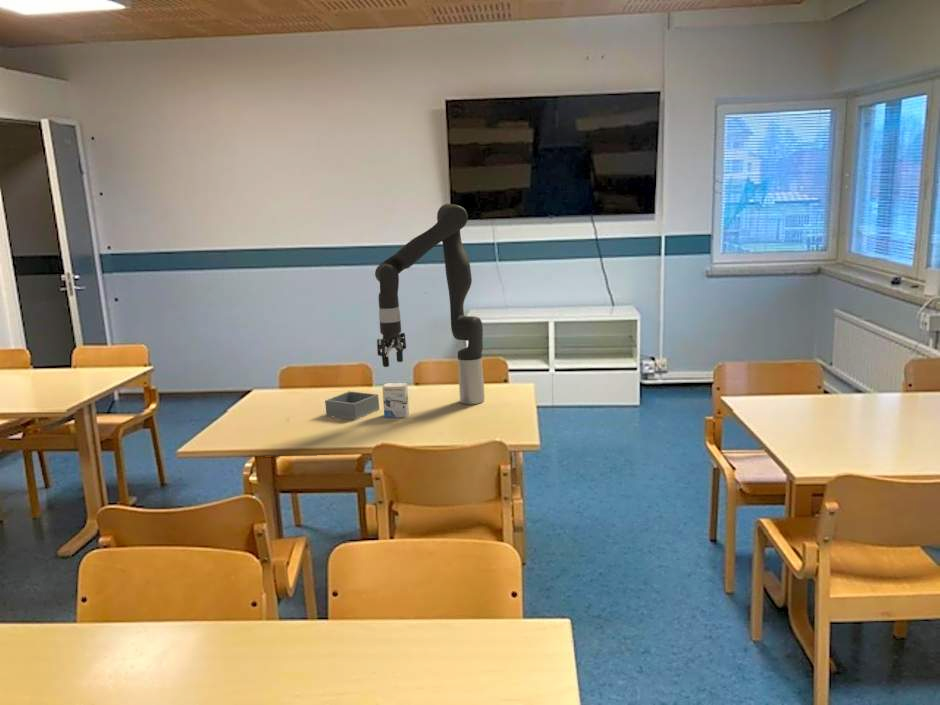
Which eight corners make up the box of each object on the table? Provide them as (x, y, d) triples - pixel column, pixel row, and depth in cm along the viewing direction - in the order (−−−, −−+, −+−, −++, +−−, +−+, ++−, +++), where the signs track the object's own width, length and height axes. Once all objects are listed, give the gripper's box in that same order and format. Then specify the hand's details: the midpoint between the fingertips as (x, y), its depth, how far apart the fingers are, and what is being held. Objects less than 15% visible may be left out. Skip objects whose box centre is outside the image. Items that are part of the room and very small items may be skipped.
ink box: (383, 417, 267) (381, 386, 264) (386, 413, 272) (384, 383, 269) (407, 417, 266) (404, 386, 263) (409, 413, 271) (407, 382, 268)
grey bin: (350, 406, 285) (349, 391, 283) (379, 409, 278) (378, 394, 276) (326, 416, 273) (325, 400, 272) (356, 420, 266) (354, 404, 265)
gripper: (386, 323, 254) (390, 369, 257) (409, 317, 266) (412, 360, 269) (369, 322, 257) (372, 367, 261) (393, 316, 269) (396, 359, 273)
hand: (393, 364), depth 265 cm, fingers open, 8 cm apart
